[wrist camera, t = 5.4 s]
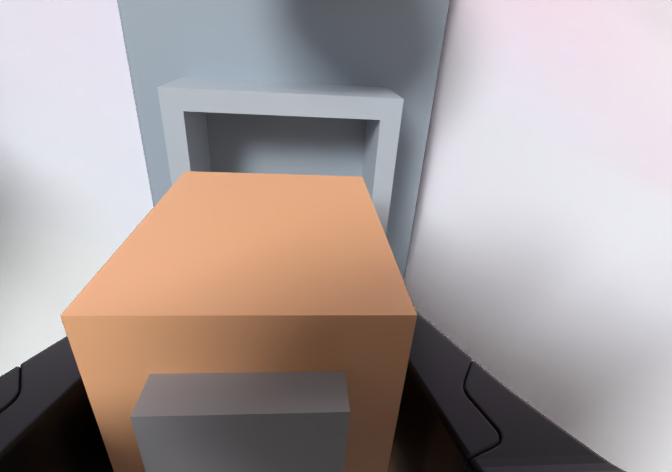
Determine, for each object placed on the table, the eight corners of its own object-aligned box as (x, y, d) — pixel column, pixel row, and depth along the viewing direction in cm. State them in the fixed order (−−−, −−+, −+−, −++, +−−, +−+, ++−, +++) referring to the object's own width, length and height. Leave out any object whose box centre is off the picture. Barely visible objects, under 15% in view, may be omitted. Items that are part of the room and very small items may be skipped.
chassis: (397, 265, 18) (418, 318, 15) (174, 263, 17) (144, 318, 14) (474, -234, 11) (549, -352, 7) (87, -283, 10) (-24, -441, 6)
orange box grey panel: (347, 340, 11) (380, 578, 6) (206, 341, 11) (126, 594, 6) (362, 176, 9) (431, 352, 4) (184, 170, 9) (24, 357, 4)
